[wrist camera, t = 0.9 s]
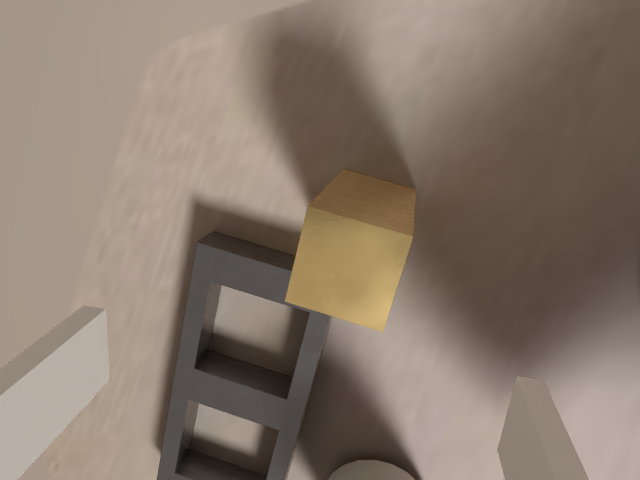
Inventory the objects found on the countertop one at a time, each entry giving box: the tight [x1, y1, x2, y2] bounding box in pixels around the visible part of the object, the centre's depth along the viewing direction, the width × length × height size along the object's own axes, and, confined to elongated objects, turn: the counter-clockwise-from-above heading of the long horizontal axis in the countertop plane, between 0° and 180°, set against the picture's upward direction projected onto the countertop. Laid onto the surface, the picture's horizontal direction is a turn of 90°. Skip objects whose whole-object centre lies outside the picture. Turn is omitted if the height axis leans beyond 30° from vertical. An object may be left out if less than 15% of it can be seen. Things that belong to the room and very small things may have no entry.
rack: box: [157, 232, 332, 480], centre depth 35 cm, size 9×20×2 cm, turn 166°
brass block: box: [285, 169, 416, 332], centre depth 26 cm, size 4×4×10 cm
